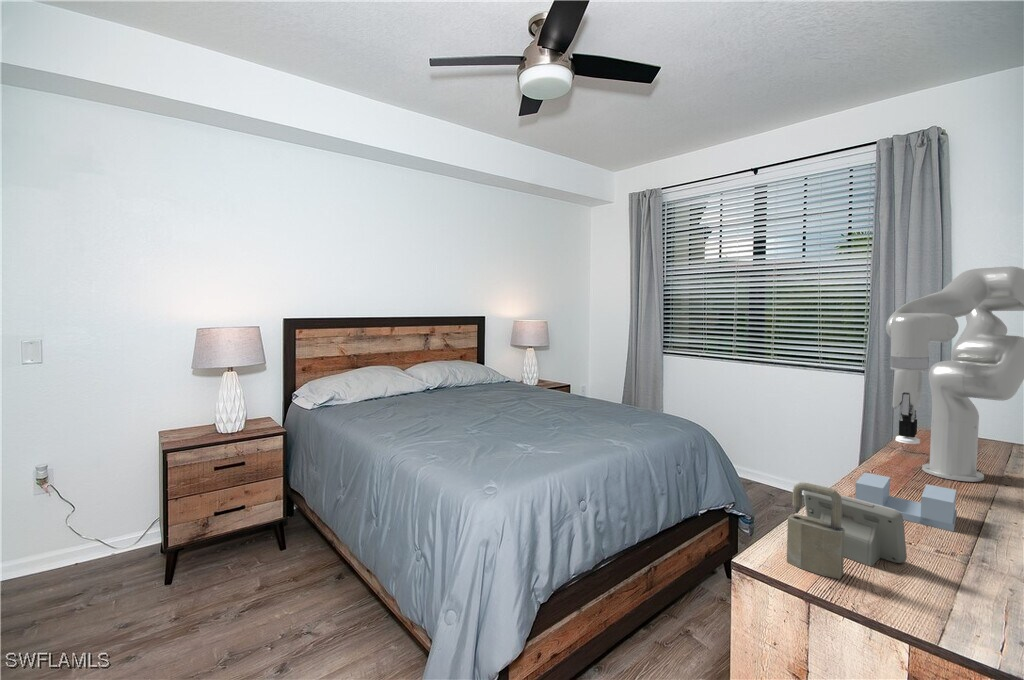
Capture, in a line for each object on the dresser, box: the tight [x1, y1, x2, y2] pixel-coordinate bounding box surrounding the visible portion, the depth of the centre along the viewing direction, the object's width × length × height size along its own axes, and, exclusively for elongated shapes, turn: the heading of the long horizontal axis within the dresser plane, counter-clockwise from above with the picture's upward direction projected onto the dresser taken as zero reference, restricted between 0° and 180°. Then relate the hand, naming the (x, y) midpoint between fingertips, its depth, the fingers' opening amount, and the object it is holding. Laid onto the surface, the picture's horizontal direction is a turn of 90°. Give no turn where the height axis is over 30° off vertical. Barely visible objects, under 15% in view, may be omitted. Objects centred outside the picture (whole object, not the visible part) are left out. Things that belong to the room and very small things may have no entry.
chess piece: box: [894, 407, 921, 445], centre depth 121 cm, size 5×5×10 cm
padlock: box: [786, 481, 845, 580], centre depth 84 cm, size 4×8×15 cm, turn 44°
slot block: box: [854, 472, 958, 533], centre depth 107 cm, size 10×17×6 cm, turn 44°
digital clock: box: [802, 490, 908, 567], centre depth 90 cm, size 16×9×11 cm, turn 25°
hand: (907, 434), depth 122 cm, fingers closed on chess piece
